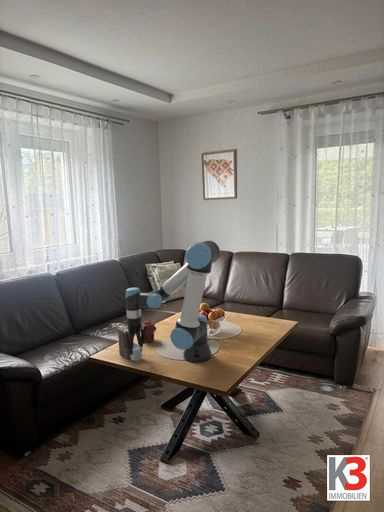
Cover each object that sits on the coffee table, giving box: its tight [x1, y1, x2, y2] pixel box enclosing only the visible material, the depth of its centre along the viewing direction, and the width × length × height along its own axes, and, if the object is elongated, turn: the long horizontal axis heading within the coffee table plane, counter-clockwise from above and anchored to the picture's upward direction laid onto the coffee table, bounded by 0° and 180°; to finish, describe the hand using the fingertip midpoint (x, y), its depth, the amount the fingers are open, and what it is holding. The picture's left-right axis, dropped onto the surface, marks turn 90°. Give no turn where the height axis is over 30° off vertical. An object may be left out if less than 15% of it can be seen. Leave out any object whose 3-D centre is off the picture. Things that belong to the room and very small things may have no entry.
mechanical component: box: [140, 320, 157, 344], centre depth 225 cm, size 12×10×10 cm
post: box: [116, 325, 138, 360], centre depth 204 cm, size 9×7×15 cm
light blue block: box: [128, 345, 143, 362], centre depth 200 cm, size 10×4×6 cm, turn 40°
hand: (136, 358), depth 199 cm, fingers closed on light blue block, 4 cm apart
